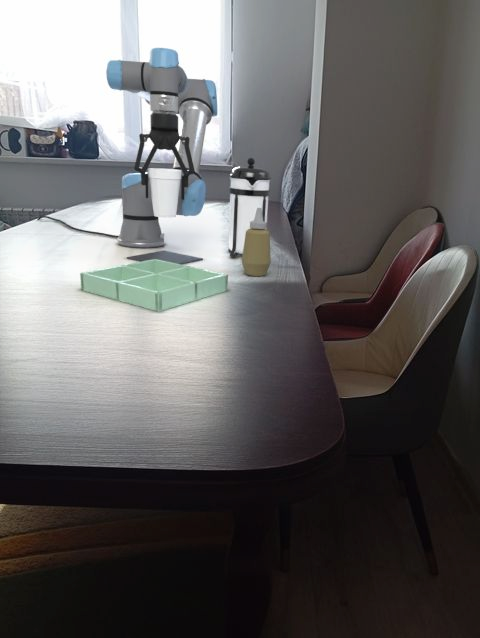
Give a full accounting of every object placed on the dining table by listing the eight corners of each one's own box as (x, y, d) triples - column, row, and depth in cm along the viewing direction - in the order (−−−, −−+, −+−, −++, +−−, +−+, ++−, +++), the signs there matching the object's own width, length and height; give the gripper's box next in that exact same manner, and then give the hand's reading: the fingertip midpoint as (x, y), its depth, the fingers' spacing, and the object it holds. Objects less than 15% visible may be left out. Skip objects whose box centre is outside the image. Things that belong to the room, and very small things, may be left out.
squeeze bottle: (248, 278, 138) (252, 209, 132) (236, 271, 145) (239, 206, 139) (274, 276, 142) (279, 210, 136) (261, 270, 149) (265, 206, 142)
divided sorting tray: (81, 290, 118) (80, 272, 116) (154, 273, 137) (154, 258, 135) (158, 311, 106) (158, 293, 105) (227, 290, 125) (228, 274, 124)
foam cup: (184, 215, 154) (185, 170, 150) (176, 219, 146) (177, 170, 141) (154, 213, 155) (153, 167, 150) (144, 216, 146) (143, 168, 142)
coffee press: (280, 256, 169) (287, 160, 158) (246, 262, 158) (251, 158, 147) (243, 248, 180) (247, 157, 169) (209, 252, 169) (211, 155, 158)
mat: (126, 258, 152) (126, 257, 152) (163, 251, 165) (164, 250, 165) (167, 267, 145) (167, 266, 145) (202, 259, 157) (202, 258, 157)
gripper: (122, 109, 134) (125, 198, 143) (206, 116, 139) (204, 201, 148) (123, 110, 141) (125, 195, 149) (203, 117, 146) (201, 198, 154)
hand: (165, 198), depth 148 cm, fingers closed on foam cup, 9 cm apart
